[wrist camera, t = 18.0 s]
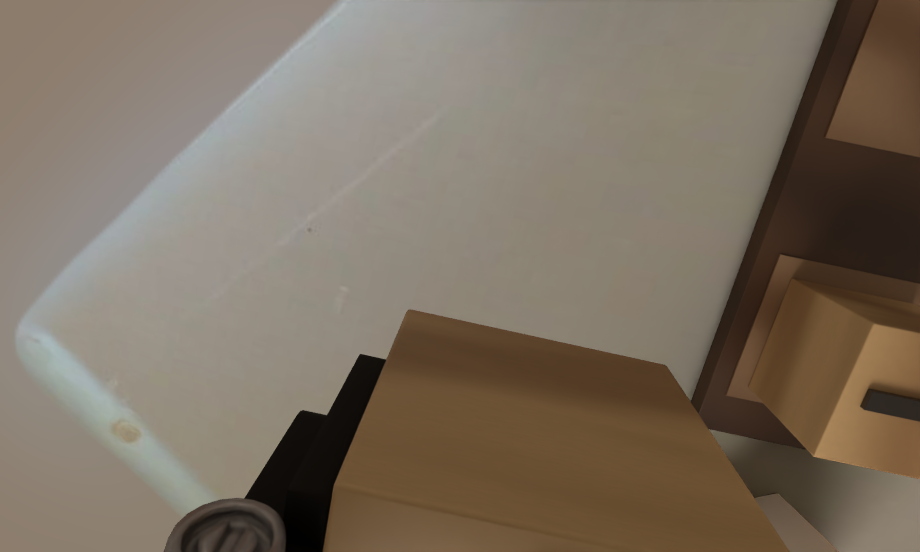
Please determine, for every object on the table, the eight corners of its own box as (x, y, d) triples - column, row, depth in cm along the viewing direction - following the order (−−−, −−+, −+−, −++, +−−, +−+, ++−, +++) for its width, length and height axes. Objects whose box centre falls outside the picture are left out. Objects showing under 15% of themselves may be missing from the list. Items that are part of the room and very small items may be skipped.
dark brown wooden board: (876, -106, 19) (898, -119, 18) (1100, -59, 19) (1136, -69, 18) (686, 414, 25) (694, 427, 24) (856, 450, 25) (872, 464, 24)
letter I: (747, 387, 23) (817, 461, 18) (791, 277, 22) (879, 325, 17) (861, 411, 23) (963, 492, 18) (913, 303, 22) (1037, 359, 17)
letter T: (407, 307, 10) (325, 500, 5) (667, 364, 10) (831, 609, 5) (366, 518, 12) (272, 825, 7) (592, 567, 12) (665, 907, 7)
